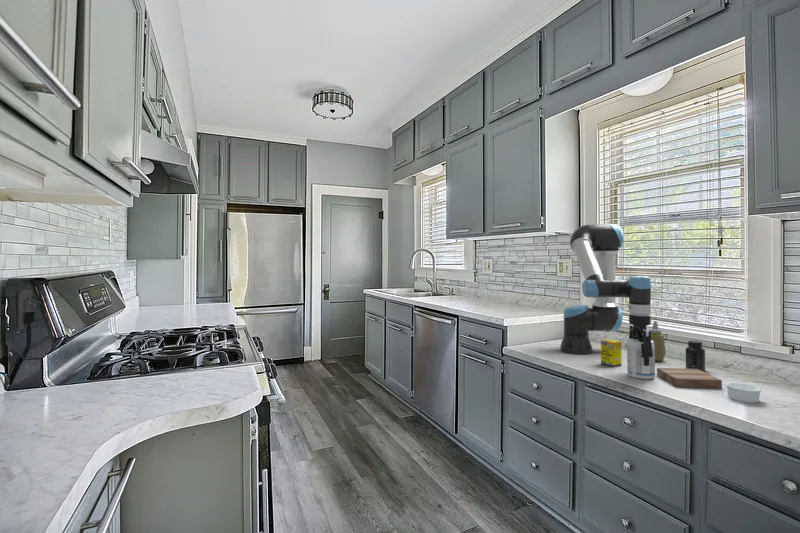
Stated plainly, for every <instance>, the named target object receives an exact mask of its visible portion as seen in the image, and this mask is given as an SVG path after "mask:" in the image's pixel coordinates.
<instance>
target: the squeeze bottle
mask: <svg viewBox="0 0 800 533" xmlns="http://www.w3.org/2000/svg"><path fill="white" fill-rule="evenodd" d="M649 331H651V340H652V341H654V349H655V362H663V361H664V359H665V356H666V354H667V353H666V344H665V336H664V334H663V333H662V330H661V329H660V328H659V324H658V321H653V324H652V328H649Z"/></svg>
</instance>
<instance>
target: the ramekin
mask: <svg viewBox="0 0 800 533" xmlns="http://www.w3.org/2000/svg"><path fill="white" fill-rule="evenodd" d="M725 385H726V390H727V397H728V398H730V399H731V400H734V401H738V402H741V403H748V404H756V403H759V402H760V396H761V392H762V389H761V388H760V387H758V386H755V385H753V384H748V383H742V382H727V383H726V384H725Z"/></svg>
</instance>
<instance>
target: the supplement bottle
mask: <svg viewBox="0 0 800 533" xmlns="http://www.w3.org/2000/svg"><path fill="white" fill-rule="evenodd" d="M684 349H685V351H684V352H685V369H699V370H701V371H703V372H705V371H706V350H705V349H704V348H703V342H702V341H700V340H699V341H698V340H688V342H687V347H685V348H684Z"/></svg>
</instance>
